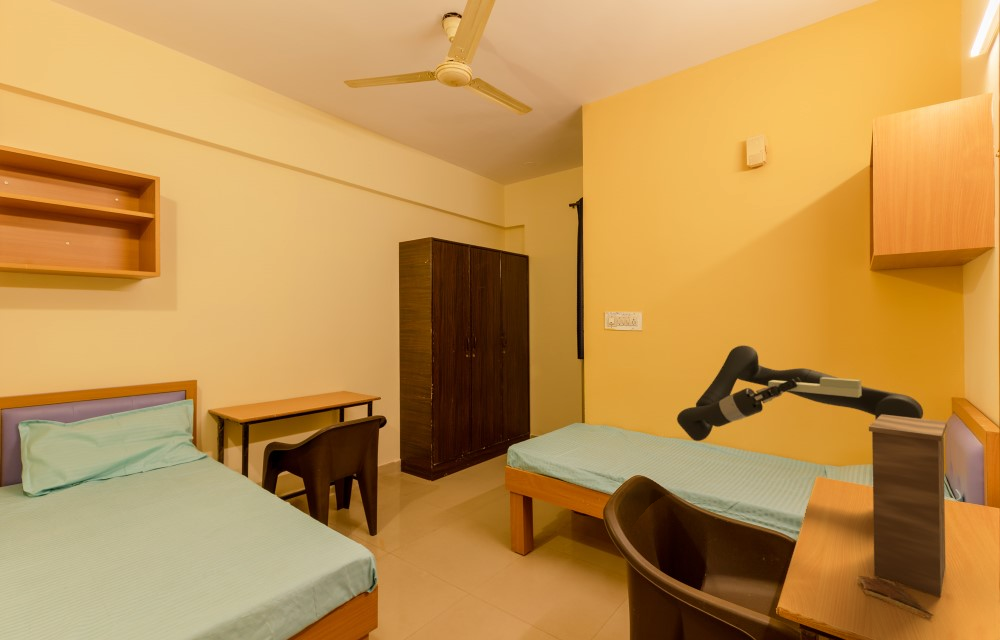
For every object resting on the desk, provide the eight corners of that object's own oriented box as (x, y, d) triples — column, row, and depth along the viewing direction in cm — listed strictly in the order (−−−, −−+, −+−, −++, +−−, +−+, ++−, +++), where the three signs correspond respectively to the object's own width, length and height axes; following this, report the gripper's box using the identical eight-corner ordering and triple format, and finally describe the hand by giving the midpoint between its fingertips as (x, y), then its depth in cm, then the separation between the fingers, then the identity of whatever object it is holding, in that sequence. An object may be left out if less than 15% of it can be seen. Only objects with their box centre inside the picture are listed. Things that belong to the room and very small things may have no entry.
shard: (933, 623, 80) (933, 613, 80) (884, 617, 81) (884, 608, 81) (894, 587, 90) (894, 578, 90) (851, 583, 92) (851, 574, 92)
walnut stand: (883, 547, 105) (881, 414, 105) (948, 566, 97) (946, 421, 97) (871, 575, 94) (868, 426, 94) (944, 599, 86) (941, 436, 86)
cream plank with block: (773, 386, 127) (772, 373, 127) (861, 395, 112) (861, 379, 112) (768, 388, 124) (768, 374, 124) (858, 397, 109) (858, 381, 109)
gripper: (724, 396, 128) (781, 371, 117) (742, 390, 138) (797, 367, 127) (738, 421, 126) (798, 397, 114) (755, 413, 135) (813, 391, 124)
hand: (797, 381), depth 121 cm, fingers closed on cream plank with block, 4 cm apart
